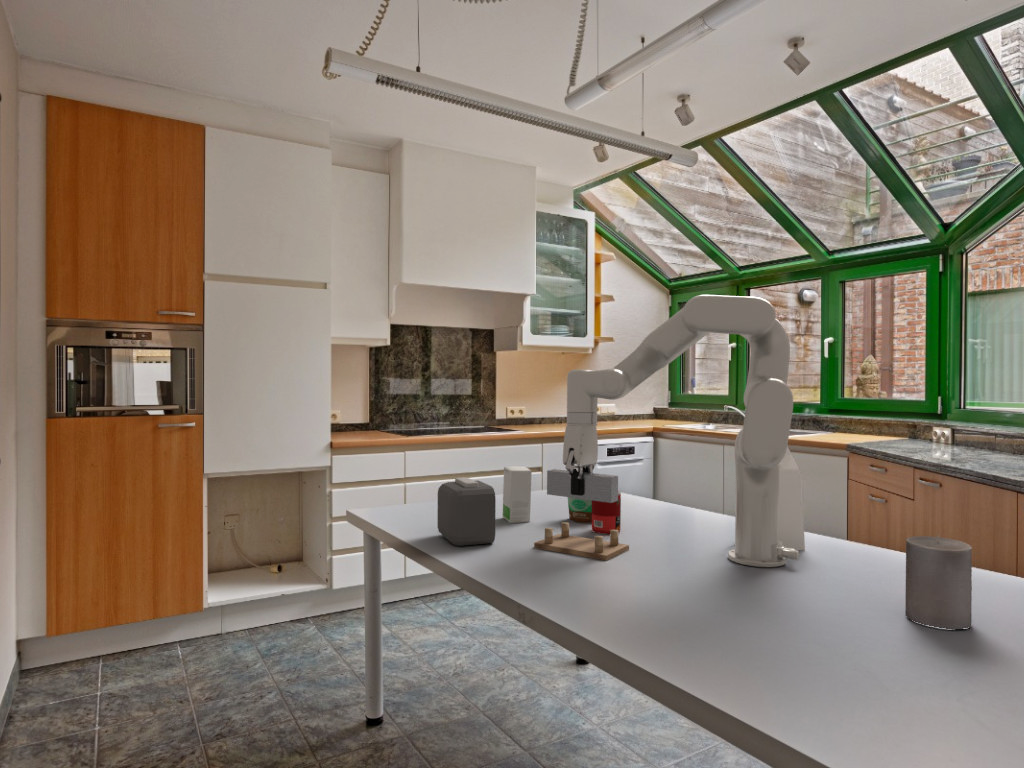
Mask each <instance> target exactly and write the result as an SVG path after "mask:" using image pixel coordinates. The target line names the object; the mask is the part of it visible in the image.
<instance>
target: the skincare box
mask: <svg viewBox="0 0 1024 768" xmlns="http://www.w3.org/2000/svg"><path fill="white" fill-rule="evenodd" d="M502 487H503V488H502V491H503V492H502V493H503V494H502V518H503V519H504V520H506V521H507V522H508V523H510V524H518V523H531V503H532V502H531V496H532V470H531V469H529V468H528V467H526V466H523V465H518V466H517V465H515V466H514V465H513V466H512V465H511V466H503V486H502Z"/></svg>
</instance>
